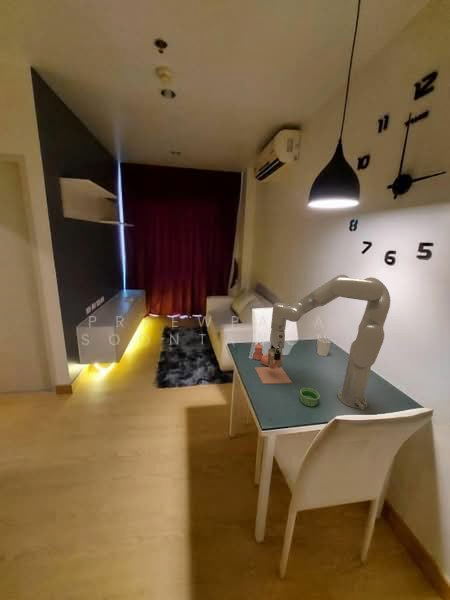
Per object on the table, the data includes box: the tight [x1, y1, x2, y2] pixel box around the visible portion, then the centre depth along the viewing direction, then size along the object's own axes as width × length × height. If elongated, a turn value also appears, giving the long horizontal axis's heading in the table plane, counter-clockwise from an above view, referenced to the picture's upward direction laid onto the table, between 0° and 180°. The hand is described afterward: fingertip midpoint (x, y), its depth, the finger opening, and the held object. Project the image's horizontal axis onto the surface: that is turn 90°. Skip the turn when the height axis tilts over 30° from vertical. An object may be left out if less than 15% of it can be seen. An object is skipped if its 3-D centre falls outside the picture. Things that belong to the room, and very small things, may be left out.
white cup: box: [316, 337, 332, 357], centre depth 167 cm, size 8×8×10 cm
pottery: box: [252, 342, 284, 369], centre depth 153 cm, size 18×10×10 cm, turn 46°
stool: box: [267, 348, 283, 369], centre depth 136 cm, size 6×6×9 cm
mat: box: [254, 366, 293, 385], centre depth 138 cm, size 16×16×1 cm
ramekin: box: [299, 387, 321, 407], centre depth 118 cm, size 9×9×4 cm
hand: (274, 356), depth 136 cm, fingers closed on stool, 6 cm apart
